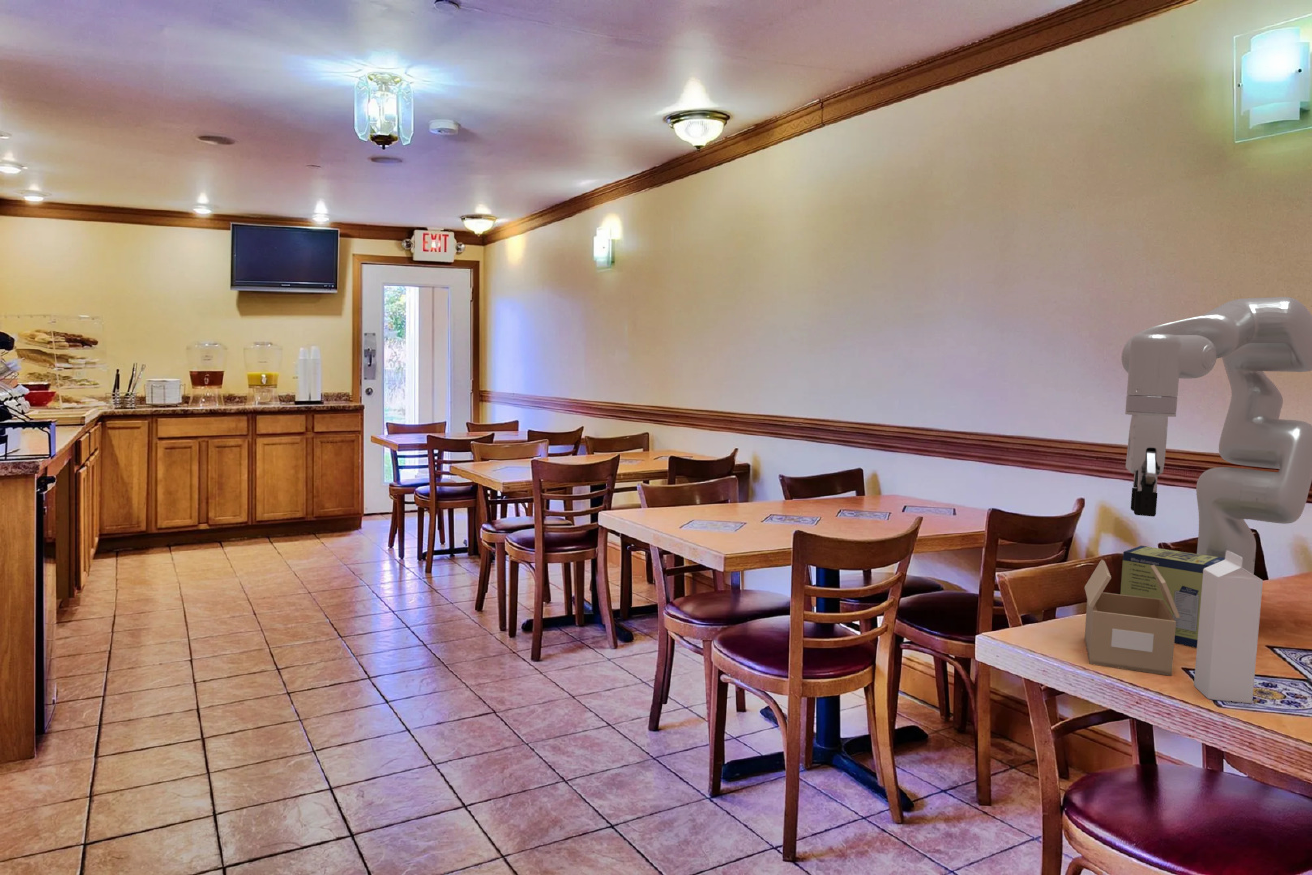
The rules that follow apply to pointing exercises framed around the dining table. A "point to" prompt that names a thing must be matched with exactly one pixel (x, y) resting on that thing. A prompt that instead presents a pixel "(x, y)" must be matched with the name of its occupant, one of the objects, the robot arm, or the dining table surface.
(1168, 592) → the flap
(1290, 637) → the dining table surface
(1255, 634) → the milk
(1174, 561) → the protein box
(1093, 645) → the carton
